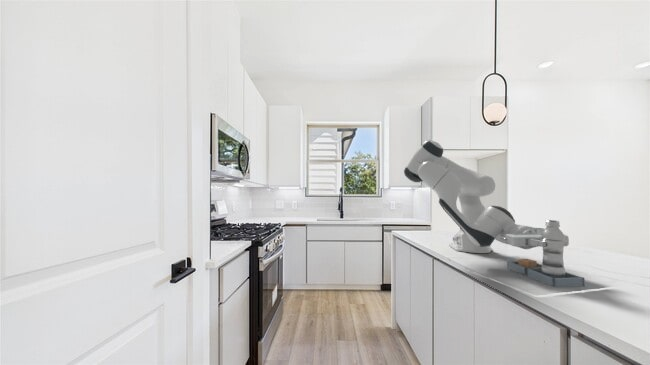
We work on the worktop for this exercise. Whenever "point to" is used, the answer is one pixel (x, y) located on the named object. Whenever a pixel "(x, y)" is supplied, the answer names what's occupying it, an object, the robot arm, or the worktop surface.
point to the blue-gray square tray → (520, 267)
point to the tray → (556, 279)
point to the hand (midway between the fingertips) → (554, 244)
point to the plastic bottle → (553, 250)
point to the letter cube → (527, 263)
